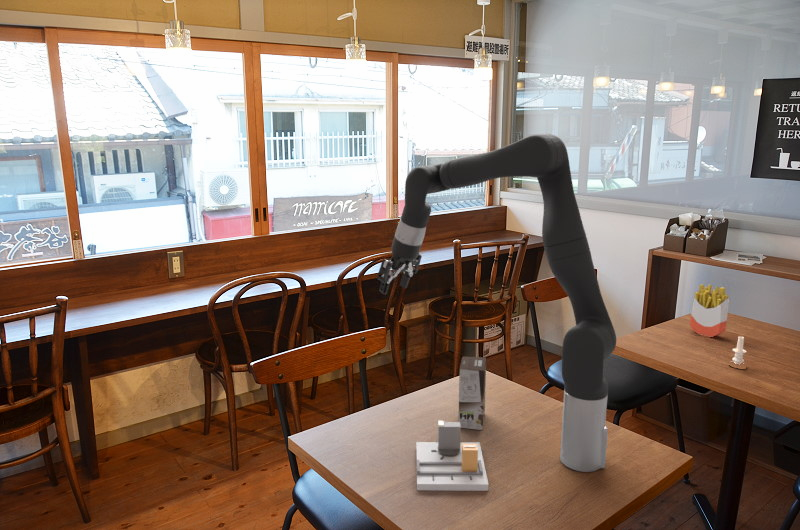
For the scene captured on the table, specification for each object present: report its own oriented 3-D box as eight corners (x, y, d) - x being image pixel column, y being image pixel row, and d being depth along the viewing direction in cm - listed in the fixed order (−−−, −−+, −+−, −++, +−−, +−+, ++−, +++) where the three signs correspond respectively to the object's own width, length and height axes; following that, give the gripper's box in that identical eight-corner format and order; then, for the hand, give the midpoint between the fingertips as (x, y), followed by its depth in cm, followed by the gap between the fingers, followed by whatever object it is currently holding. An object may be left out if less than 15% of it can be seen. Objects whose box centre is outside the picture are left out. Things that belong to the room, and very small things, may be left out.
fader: (476, 465, 133) (476, 442, 131) (477, 471, 130) (477, 449, 129) (461, 465, 133) (461, 442, 132) (462, 471, 130) (462, 449, 129)
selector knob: (459, 444, 141) (459, 417, 140) (461, 456, 136) (461, 428, 135) (437, 444, 141) (437, 417, 140) (438, 456, 136) (438, 428, 135)
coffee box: (483, 430, 151) (484, 370, 147) (457, 428, 152) (458, 368, 149) (485, 413, 160) (487, 356, 156) (461, 411, 161) (462, 355, 157)
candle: (750, 369, 187) (754, 338, 184) (733, 369, 187) (737, 338, 184) (741, 363, 192) (745, 332, 189) (724, 363, 192) (728, 332, 190)
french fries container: (717, 340, 212) (723, 291, 208) (688, 331, 221) (693, 284, 216) (724, 337, 214) (730, 289, 210) (695, 329, 223) (701, 282, 219)
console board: (479, 448, 143) (479, 438, 142) (488, 490, 126) (488, 480, 126) (416, 447, 143) (416, 438, 143) (417, 490, 127) (417, 479, 126)
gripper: (401, 248, 151) (385, 302, 158) (435, 240, 161) (419, 291, 168) (380, 235, 154) (365, 288, 161) (415, 227, 165) (400, 278, 172)
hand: (393, 289), depth 165 cm, fingers open, 8 cm apart
